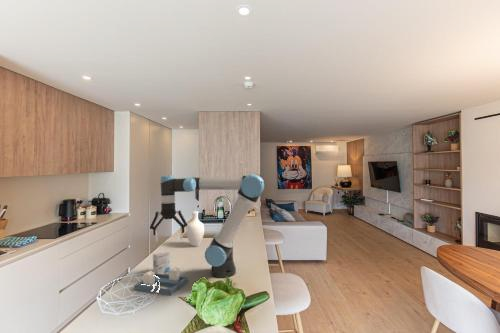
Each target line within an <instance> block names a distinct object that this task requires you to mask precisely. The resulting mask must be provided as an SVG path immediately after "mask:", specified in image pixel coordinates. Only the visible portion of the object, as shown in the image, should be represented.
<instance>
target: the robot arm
mask: <svg viewBox="0 0 500 333" xmlns="http://www.w3.org/2000/svg"><path fill="white" fill-rule="evenodd" d="M265 188H266V180H265V179H264V177H263V176H262V175H260V174H257V173H252V174H251V173H250V174H248V175H241V177H234V176H233V177H229V176H228V177H227V176H226V177H186V178H182V177H181V178H175V175H173V174H171V175H162V176H160V201H161V204H160V206H161V207H160V209H161V210H160V211H156V212H155V215H154V217H153V219H152V221H151V224H150V227H149V229H150V230H153V236H155V237H154V238H155V242H156V243H157V242H158V241H159V232H158V231H159V229H158V227H159V225H161V223H162V222H163V221H164V220H172V219H173V220H174V221H175V222H176V223H177V224H178V226H180V230H179V232H180V240H181V241H182V240H183V234H185V227H186V228H187V225H188V222H187V221H186V219H185V217H184V215H183V214H182V210H181V209H180V210H176V192H177V193H178V192H181V193H184V192H186V193H191V192H194V191H216V190H217V191H231V190H232V191H237V198H236V200H235V202H234V204H233V206H232V208H231V210H230V211H229V214H228V216H227V218H226V220H225V221H224V223H223V225H222V227H221V228H220V231H219V232H218V233H216V234H214V235H213V238H212V241H211V242H210V243H209V246H207V248H206V249H205V251H204V258H205V261H206V263H207V264H208V265H210V266H211V268H210V275H211V276H212V277H213V278H220V279H221V278H225V279H226V278H229V277H232V276H234V275H235V274H237V267H236V263H235V262H234V239H235V238H236V235H237V233H238V232H239V230H240V229H241V226H242V224H243V222H244V220H245V219H246V217H247V215H248V212H249V211H250V209H251V207H252V205H254V204H256V203H257V202H258V199H259V198H260V196H261V195H262V193H263V192H264V190H265ZM176 214H177V215H178V216H179V218H180V219H179V218H178V217H177V216H176ZM160 215H161V218H160V219H159V220H158V217H159V216H160ZM157 220H158V222H157V223H156V221H157ZM180 220H181V221H180ZM226 276H228V277H226Z"/></svg>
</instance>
